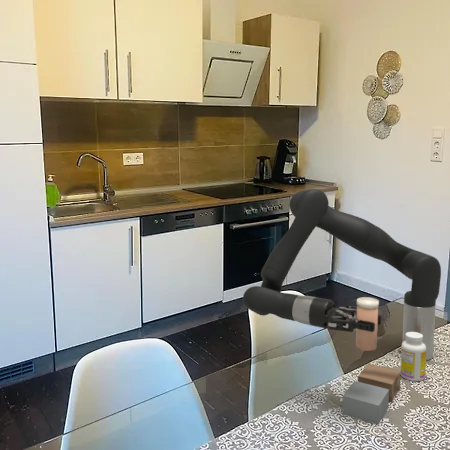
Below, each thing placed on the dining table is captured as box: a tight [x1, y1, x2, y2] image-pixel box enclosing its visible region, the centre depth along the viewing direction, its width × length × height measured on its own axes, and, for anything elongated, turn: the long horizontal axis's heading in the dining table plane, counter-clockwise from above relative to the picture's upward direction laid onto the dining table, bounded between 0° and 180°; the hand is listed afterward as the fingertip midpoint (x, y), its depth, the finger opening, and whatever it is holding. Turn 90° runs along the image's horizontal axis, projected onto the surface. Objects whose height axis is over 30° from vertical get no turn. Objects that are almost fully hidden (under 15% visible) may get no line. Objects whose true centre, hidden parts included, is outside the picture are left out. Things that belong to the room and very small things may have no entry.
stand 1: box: [357, 363, 402, 403], centre depth 130 cm, size 9×9×5 cm
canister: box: [355, 296, 380, 352], centre depth 118 cm, size 5×5×12 cm
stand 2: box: [342, 380, 390, 426], centre depth 120 cm, size 9×9×5 cm
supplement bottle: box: [400, 332, 427, 382], centre depth 137 cm, size 7×7×13 cm
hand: (377, 323), depth 116 cm, fingers closed on canister, 5 cm apart
